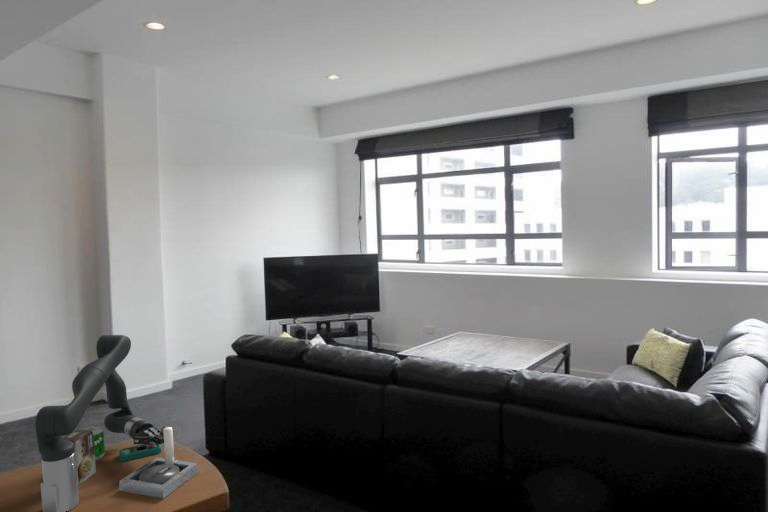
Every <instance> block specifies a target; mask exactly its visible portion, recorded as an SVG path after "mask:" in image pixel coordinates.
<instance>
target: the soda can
mask: <svg viewBox="0 0 768 512" xmlns="http://www.w3.org/2000/svg"><path fill="white" fill-rule="evenodd" d="M82 430H90V431H93V441H94V452H95V462H97V461H98V460H101V459H102V458H103V457H104V456H105V454H106V449H105V436H104V427H102V426H101V425H100V424H92V425H88V426H86V427H84V428H83V429H82Z"/></svg>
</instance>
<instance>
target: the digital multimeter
mask: <svg viewBox="0 0 768 512" xmlns="http://www.w3.org/2000/svg"><path fill="white" fill-rule="evenodd" d="M118 451H119V452H118V455H119V460H120V462H126V461H130V460H135V459H139V458H143V457H147V456H152V455H156V453H157V454H160V453H161V452H162V444H160V445H159V444H156V443H152V442H150V444H137V445H135V446H129V447H123V448H121V449H119V450H118Z"/></svg>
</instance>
